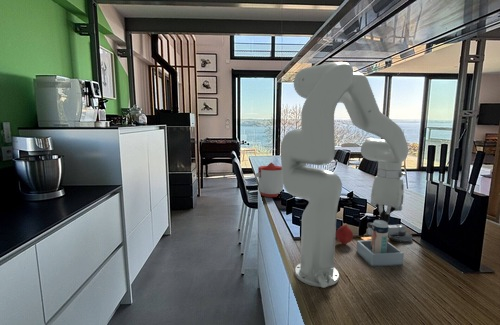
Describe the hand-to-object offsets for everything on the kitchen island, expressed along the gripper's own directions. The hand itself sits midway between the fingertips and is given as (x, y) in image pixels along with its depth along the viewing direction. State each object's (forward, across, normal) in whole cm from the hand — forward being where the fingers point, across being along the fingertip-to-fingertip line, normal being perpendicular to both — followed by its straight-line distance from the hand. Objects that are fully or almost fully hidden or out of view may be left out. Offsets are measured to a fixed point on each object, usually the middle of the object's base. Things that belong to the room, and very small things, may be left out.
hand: (384, 223), depth 104 cm
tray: (+8, -3, +13) cm, 15 cm away
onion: (+8, +10, +10) cm, 17 cm away
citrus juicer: (+8, +72, -25) cm, 77 cm away
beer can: (+8, -2, +13) cm, 15 cm away
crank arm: (+6, 0, -5) cm, 8 cm away
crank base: (+8, 0, -5) cm, 9 cm away
